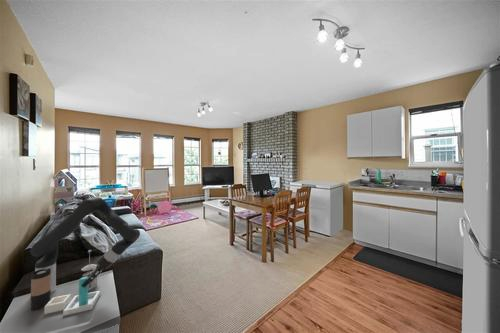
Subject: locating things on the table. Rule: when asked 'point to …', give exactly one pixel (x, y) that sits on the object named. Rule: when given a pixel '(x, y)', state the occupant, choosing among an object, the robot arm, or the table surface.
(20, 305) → the table surface
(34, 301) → the travel mug
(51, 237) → the robot arm
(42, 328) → the table surface
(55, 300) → the square box
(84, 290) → the dowel
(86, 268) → the french press
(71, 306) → the tray
